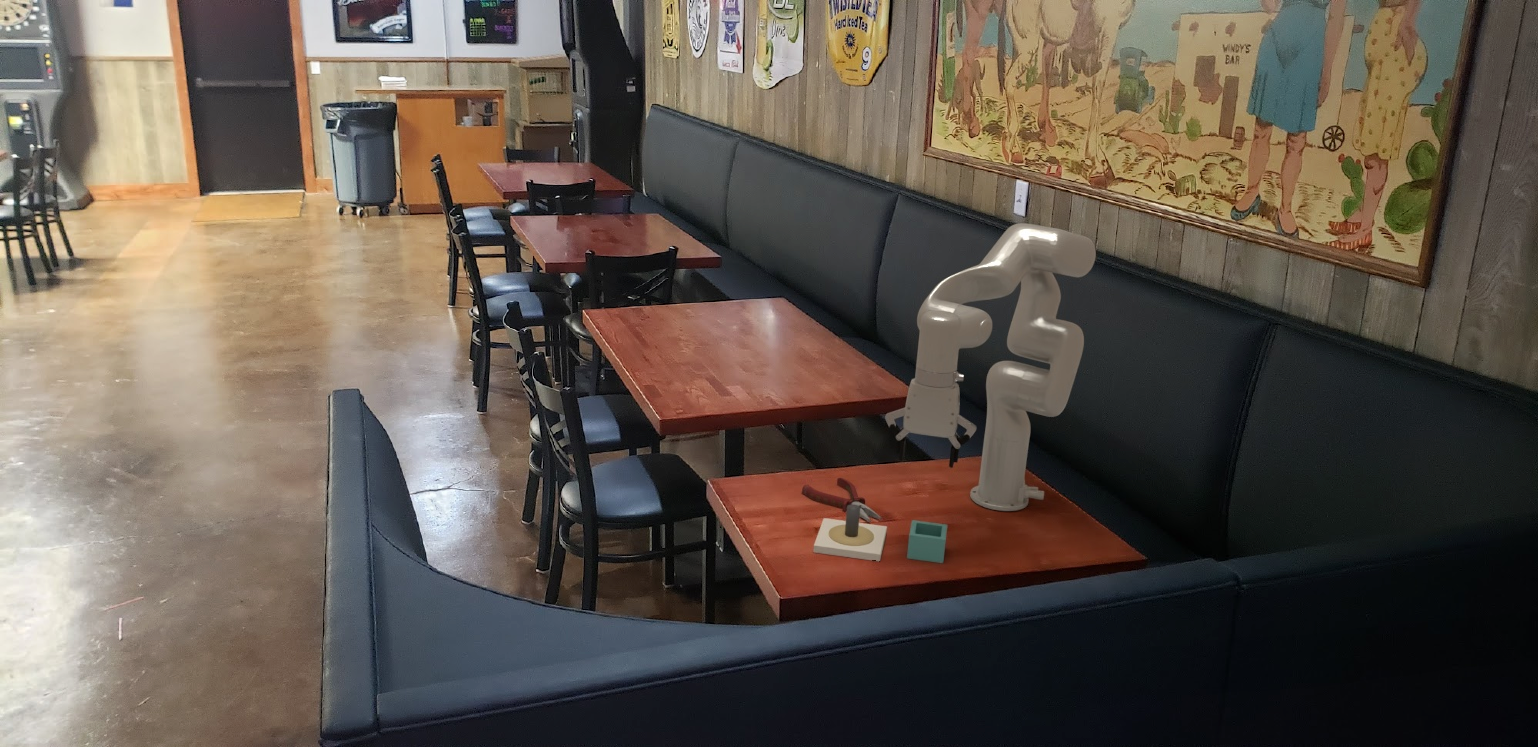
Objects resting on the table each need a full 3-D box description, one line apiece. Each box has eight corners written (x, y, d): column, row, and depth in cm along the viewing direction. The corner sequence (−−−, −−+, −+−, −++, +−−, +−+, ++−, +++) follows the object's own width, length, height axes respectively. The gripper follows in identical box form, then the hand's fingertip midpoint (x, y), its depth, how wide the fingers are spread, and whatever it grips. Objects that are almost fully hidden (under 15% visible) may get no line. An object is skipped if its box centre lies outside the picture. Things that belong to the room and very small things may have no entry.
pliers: (853, 530, 232) (854, 519, 232) (799, 494, 248) (800, 483, 248) (897, 520, 238) (898, 508, 238) (841, 485, 254) (842, 474, 254)
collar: (944, 547, 226) (947, 524, 225) (943, 563, 220) (945, 539, 218) (909, 542, 227) (912, 519, 226) (906, 558, 221) (909, 534, 219)
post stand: (886, 533, 231) (889, 498, 229) (879, 561, 219) (883, 525, 216) (823, 524, 233) (825, 490, 231) (813, 552, 221) (815, 516, 219)
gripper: (983, 377, 214) (973, 461, 219) (892, 365, 218) (884, 448, 223) (980, 388, 207) (970, 475, 212) (886, 376, 211) (878, 461, 216)
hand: (926, 461), depth 218 cm, fingers open, 9 cm apart
